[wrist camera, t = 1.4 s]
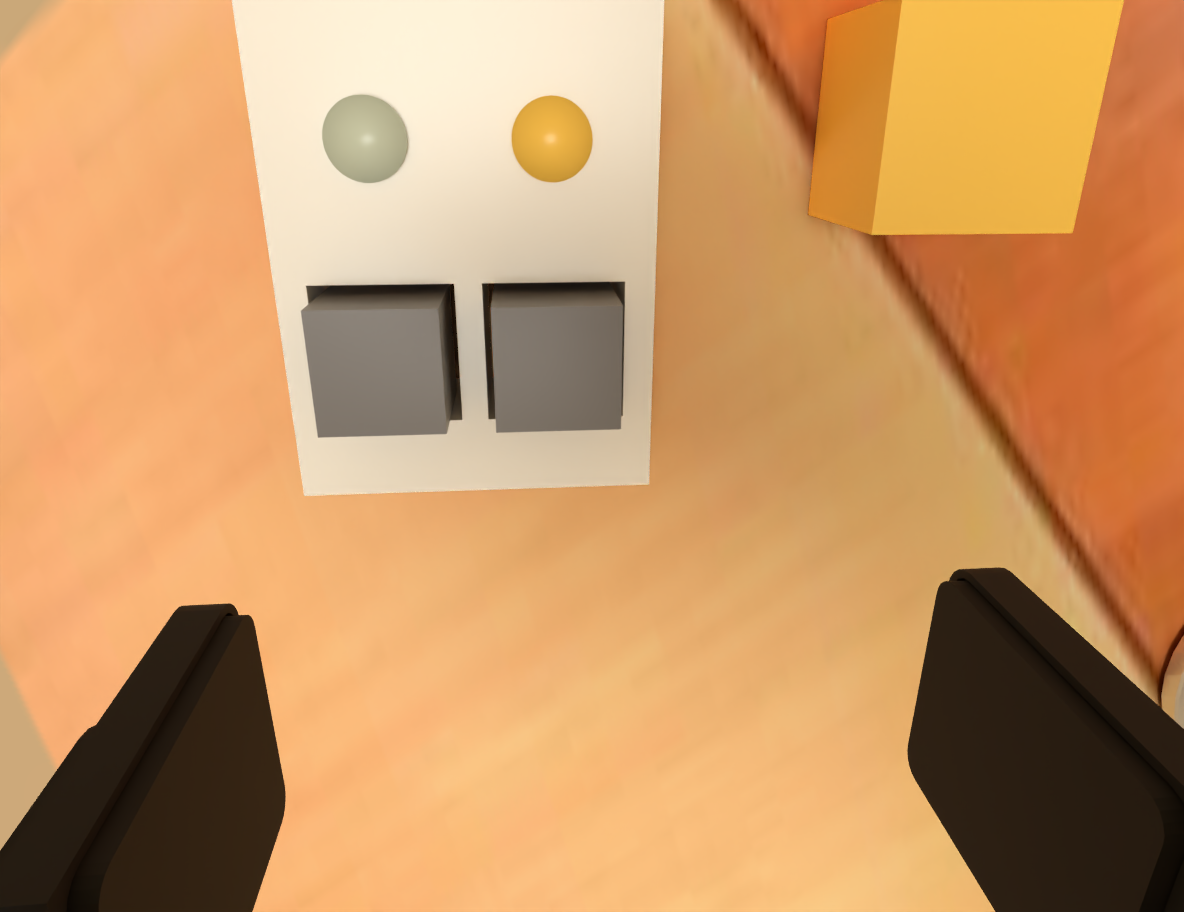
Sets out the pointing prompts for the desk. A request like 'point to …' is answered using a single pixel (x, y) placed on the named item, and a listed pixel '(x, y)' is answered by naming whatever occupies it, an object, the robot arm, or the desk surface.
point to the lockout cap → (960, 114)
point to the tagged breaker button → (557, 356)
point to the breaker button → (381, 359)
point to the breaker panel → (460, 202)
